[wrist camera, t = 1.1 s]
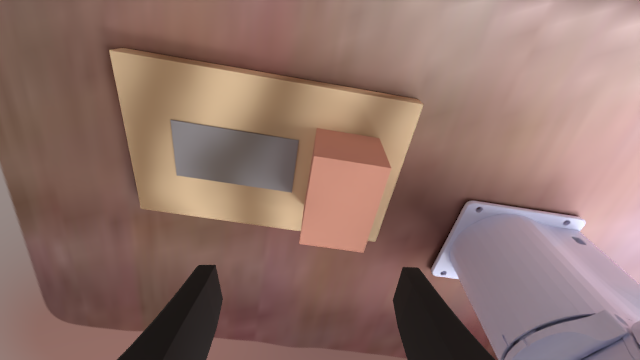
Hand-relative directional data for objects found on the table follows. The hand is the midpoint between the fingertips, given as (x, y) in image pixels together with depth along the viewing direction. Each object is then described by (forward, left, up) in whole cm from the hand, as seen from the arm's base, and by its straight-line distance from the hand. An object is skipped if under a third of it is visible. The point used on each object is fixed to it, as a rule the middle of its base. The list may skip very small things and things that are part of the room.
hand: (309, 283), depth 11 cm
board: (+4, 0, -11) cm, 11 cm away
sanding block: (-1, 0, -9) cm, 9 cm away
